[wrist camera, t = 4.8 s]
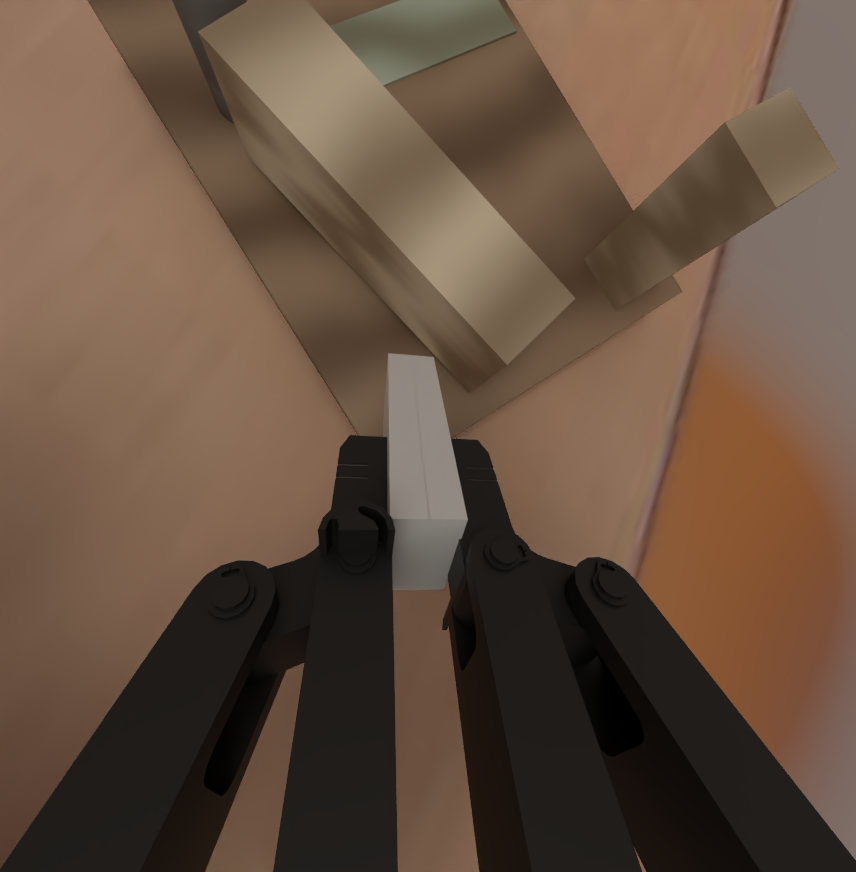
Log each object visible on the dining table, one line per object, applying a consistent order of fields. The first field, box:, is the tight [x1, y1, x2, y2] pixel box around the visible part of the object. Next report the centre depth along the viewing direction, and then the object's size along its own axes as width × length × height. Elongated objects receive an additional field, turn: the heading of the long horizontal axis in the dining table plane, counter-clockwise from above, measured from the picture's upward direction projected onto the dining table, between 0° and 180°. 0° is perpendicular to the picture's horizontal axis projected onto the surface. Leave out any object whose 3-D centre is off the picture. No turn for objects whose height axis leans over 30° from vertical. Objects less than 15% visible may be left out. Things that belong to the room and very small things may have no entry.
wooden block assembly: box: [88, 0, 839, 438], centre depth 15 cm, size 24×18×10 cm
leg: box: [198, 0, 575, 392], centre depth 14 cm, size 14×4×4 cm, turn 44°
